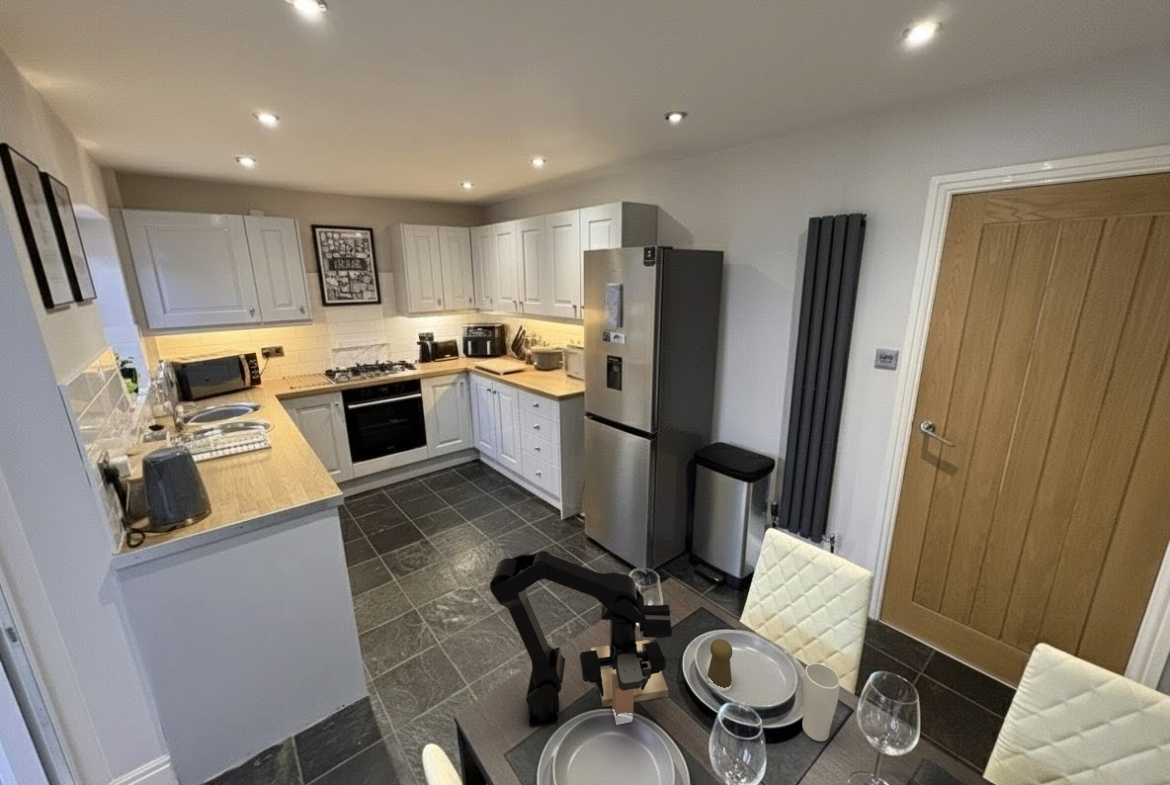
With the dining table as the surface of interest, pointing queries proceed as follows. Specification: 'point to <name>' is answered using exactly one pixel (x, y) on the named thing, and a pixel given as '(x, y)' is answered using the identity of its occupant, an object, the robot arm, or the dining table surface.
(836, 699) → the drinking glass
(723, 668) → the olive brown pawn
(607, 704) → the wooden square hole board
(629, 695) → the brown tall block
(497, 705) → the dining table surface
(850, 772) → the dining table surface
